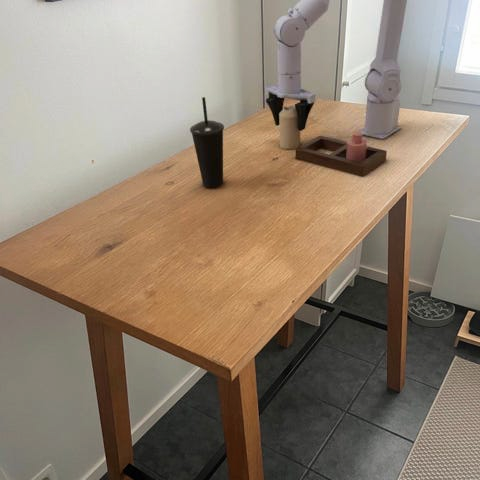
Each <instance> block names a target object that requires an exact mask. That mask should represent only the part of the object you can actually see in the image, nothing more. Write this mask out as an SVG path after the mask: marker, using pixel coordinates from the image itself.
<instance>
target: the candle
mask: <svg viewBox="0 0 480 480" xmlns="http://www.w3.org/2000/svg"><path fill="white" fill-rule="evenodd" d="M278 126H279V147H280V148H281V149H284V150H294V149H295V150H296V148H298V147H300V146H301V131H298V118H297V112H296V108H295V106H293V105H290V106H288V107H287V106H283V110H282V111H281V112H280V113H279V125H278Z"/></svg>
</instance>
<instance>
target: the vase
mask: <svg viewBox="0 0 480 480" xmlns="http://www.w3.org/2000/svg"><path fill="white" fill-rule="evenodd" d="M363 136H364V135H363V133H362V132H359V131H354V132H352V136H351V138H350V139H348V140H347V141H346V142H347V148H346V159H350V160H354V161H358V162H363V161H364V160H366V151H367V146H368V141H367V140H366V139H365V138H363Z"/></svg>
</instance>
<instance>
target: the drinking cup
mask: <svg viewBox="0 0 480 480" xmlns="http://www.w3.org/2000/svg"><path fill="white" fill-rule="evenodd" d="M201 101H202V110H203V119H204V120H201V121H199V122H197V123H195V124H193V125H191V126H190V128H189V132H190V134H191V136H192V140H193V145H194V149H195V154H196V158H197V162H198V163H197V164H198V167H199V172H200V177H201V181H202V186H203V187H204V188H206V189H210V190H211V189H212V190H213V189H218V188H220V187H222V186H223V185H224V129H225V125H224V123H222V122H220V121H215V120H210V119H209V118H208V111H207V103H206V97H205V96H204V97H203V96H202V97H201ZM208 119H209V120H208Z"/></svg>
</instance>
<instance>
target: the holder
mask: <svg viewBox="0 0 480 480" xmlns="http://www.w3.org/2000/svg"><path fill="white" fill-rule="evenodd" d="M346 148H347V141H346V140H341V139H337V138H332V137H328V136H325V135H324V136H323V135H318V136H316V137H314V138H313V139H311V140H309V141H307V142H305V143H304V144H302V145H300V146H299V147H298V148H295V160H298V161H303V162H307V163H310V164H314V165H318V166H322V167H325V168H329V169H332V170H336V171H340V172H344V173H348V174H351V175H355V176H360V177H364V176H366V175H368V174H369V173H370V172H371V171H374V170H375V169H376V168H377V167H379V166H380V165H383V163H385V162H386V161H387V154H388V153H387V152H388V151H387V150H384V149H381V148H376V147H373V146H368V145H367V151H366V160H364V161H363V162H358V161H354V160H350V159H346ZM320 149H323V150H327V151H331V153H325V152H321V151H318V150H320Z"/></svg>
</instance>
